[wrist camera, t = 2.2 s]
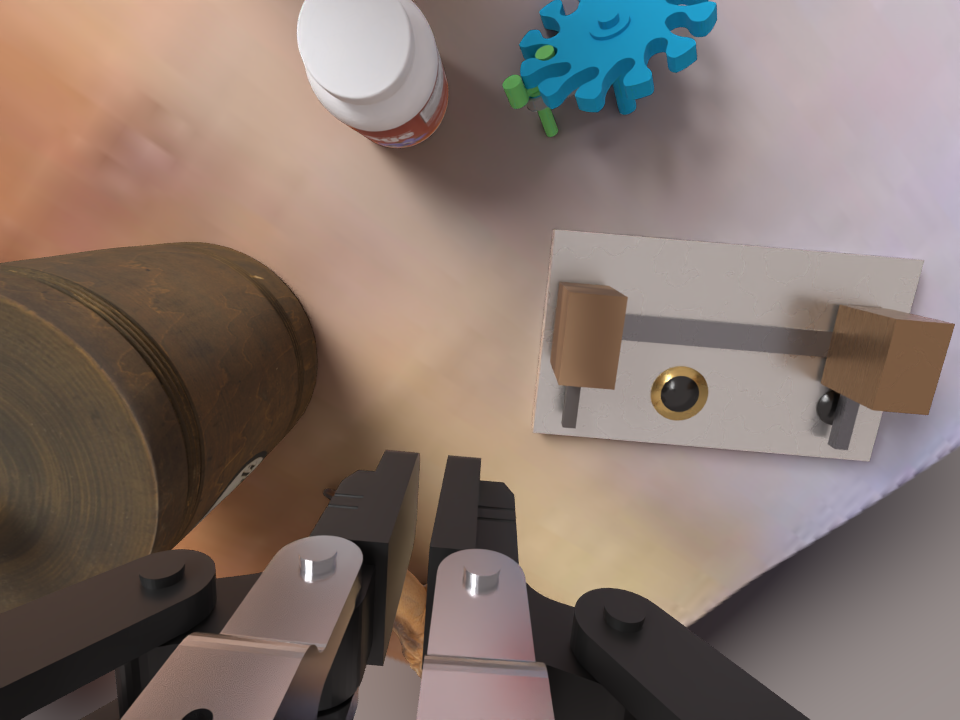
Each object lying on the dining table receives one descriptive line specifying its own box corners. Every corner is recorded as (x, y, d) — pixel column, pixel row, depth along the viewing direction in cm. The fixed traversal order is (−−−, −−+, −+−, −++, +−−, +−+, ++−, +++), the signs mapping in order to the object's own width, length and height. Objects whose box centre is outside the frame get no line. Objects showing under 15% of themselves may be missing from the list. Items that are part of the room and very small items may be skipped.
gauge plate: (531, 424, 38) (539, 467, 32) (553, 229, 35) (566, 231, 28) (855, 452, 38) (930, 501, 31) (906, 258, 35) (1002, 268, 28)
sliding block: (543, 419, 36) (550, 450, 31) (559, 281, 34) (569, 292, 29) (590, 423, 36) (604, 455, 31) (609, 285, 34) (628, 297, 29)
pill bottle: (333, 127, 34) (258, 85, 23) (364, 20, 32) (299, -78, 22) (430, 165, 34) (400, 141, 24) (465, 61, 33) (450, -16, 22)
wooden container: (118, 454, 40) (-319, 729, 18) (82, 241, 36) (-515, 274, 15) (326, 457, 39) (125, 742, 18) (311, 241, 36) (37, 277, 14)
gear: (672, -83, 29) (751, 18, 24) (682, 21, 34) (750, 124, 29) (481, 20, 32) (515, 130, 27) (515, 103, 37) (550, 209, 32)
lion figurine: (506, 582, 41) (509, 679, 33) (460, 628, 42) (451, 734, 34) (347, 461, 39) (305, 531, 31) (303, 513, 40) (251, 594, 32)
